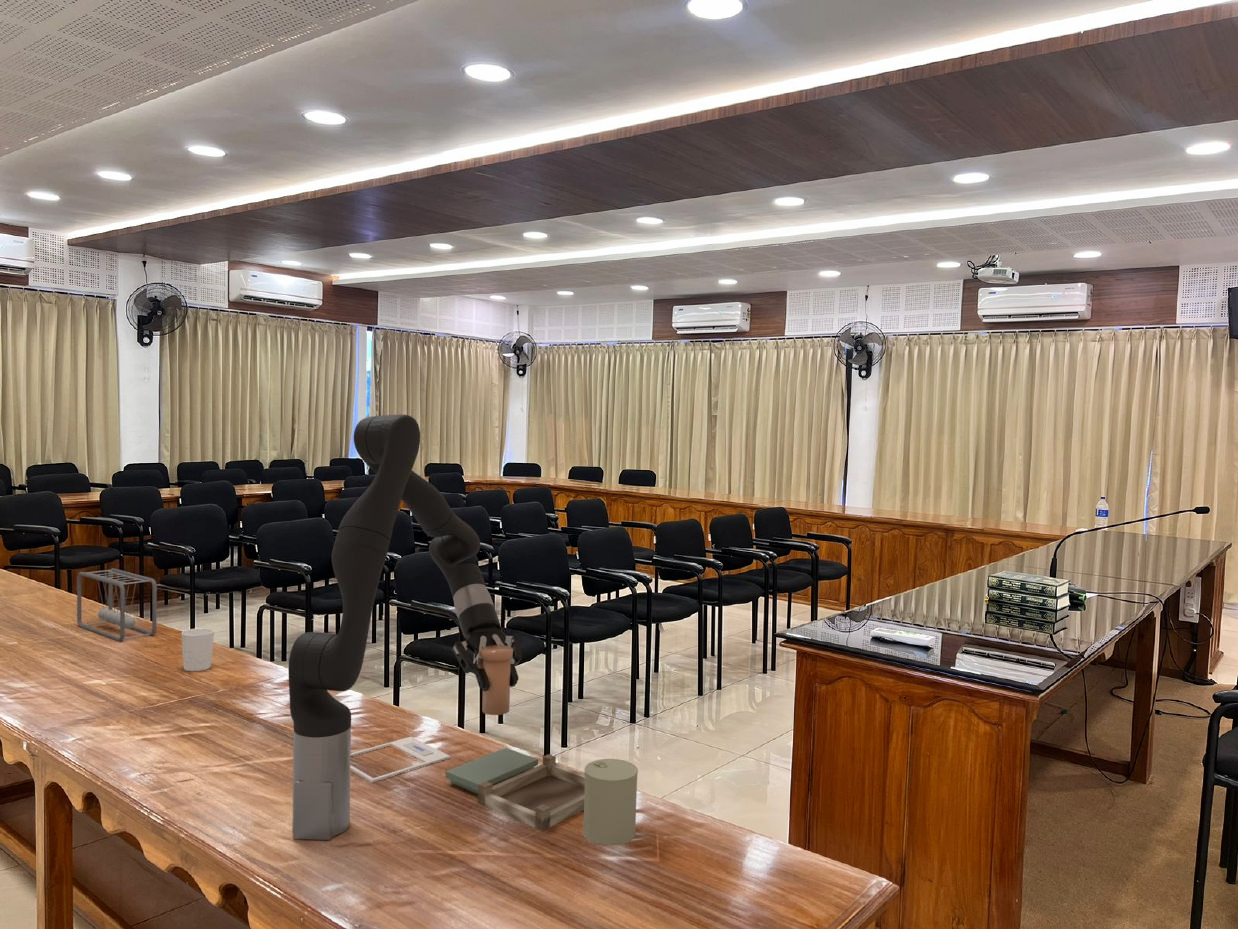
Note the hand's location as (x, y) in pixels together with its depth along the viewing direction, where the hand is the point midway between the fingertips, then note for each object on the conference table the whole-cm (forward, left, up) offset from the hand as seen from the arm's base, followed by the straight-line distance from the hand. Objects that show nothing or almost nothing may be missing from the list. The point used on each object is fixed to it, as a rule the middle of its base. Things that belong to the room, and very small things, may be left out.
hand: (500, 686), depth 165 cm
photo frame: (+10, +23, -20) cm, 32 cm away
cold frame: (-7, -10, -19) cm, 22 cm away
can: (-19, -22, -19) cm, 35 cm away
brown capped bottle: (+1, +1, -5) cm, 6 cm away
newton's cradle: (+102, +135, -19) cm, 171 cm away
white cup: (+67, +92, -19) cm, 116 cm away
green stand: (+2, +1, -19) cm, 19 cm away
